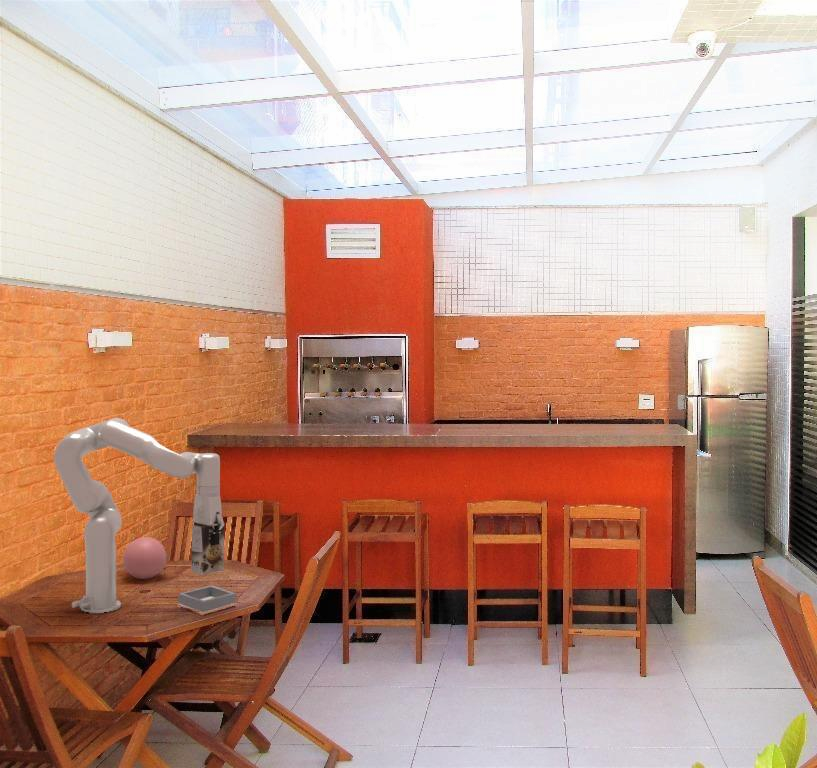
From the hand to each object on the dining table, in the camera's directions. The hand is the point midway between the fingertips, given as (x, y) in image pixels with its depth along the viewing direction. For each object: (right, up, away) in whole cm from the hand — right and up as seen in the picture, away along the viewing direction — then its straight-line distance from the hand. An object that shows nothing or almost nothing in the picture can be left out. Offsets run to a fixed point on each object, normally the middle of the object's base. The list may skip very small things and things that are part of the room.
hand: (208, 542), depth 288 cm
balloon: (-33, -19, +34) cm, 51 cm away
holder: (-1, -22, +1) cm, 22 cm away
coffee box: (0, -10, +1) cm, 10 cm away
